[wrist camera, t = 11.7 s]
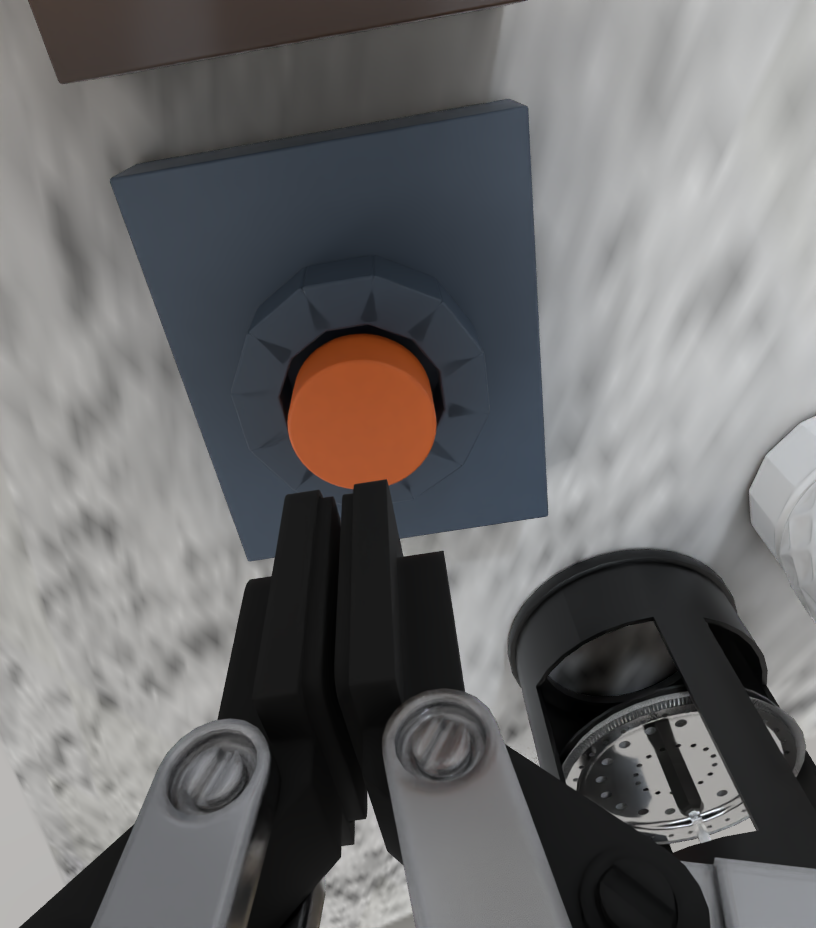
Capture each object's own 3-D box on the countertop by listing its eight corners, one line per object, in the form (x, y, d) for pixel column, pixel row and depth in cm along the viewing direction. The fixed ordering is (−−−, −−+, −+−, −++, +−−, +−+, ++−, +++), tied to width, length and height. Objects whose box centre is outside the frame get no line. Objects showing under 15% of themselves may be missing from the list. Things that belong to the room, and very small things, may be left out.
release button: (278, 344, 17) (270, 374, 15) (421, 321, 17) (426, 348, 15) (311, 465, 19) (306, 501, 17) (439, 444, 19) (445, 479, 17)
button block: (134, 163, 18) (80, 193, 14) (511, 98, 17) (546, 112, 14) (257, 522, 24) (239, 601, 21) (534, 479, 24) (562, 552, 20)
